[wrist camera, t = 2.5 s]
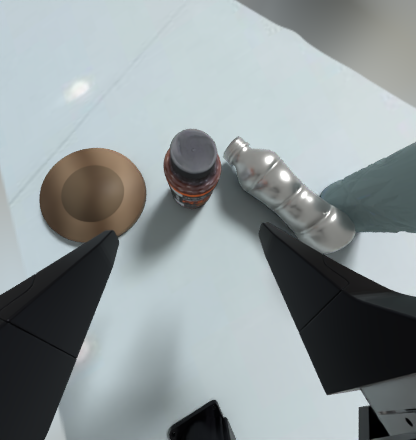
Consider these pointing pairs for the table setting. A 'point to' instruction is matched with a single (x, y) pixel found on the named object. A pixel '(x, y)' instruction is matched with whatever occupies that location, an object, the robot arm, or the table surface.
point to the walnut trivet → (92, 194)
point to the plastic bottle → (290, 198)
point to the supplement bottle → (192, 167)
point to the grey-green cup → (379, 194)
